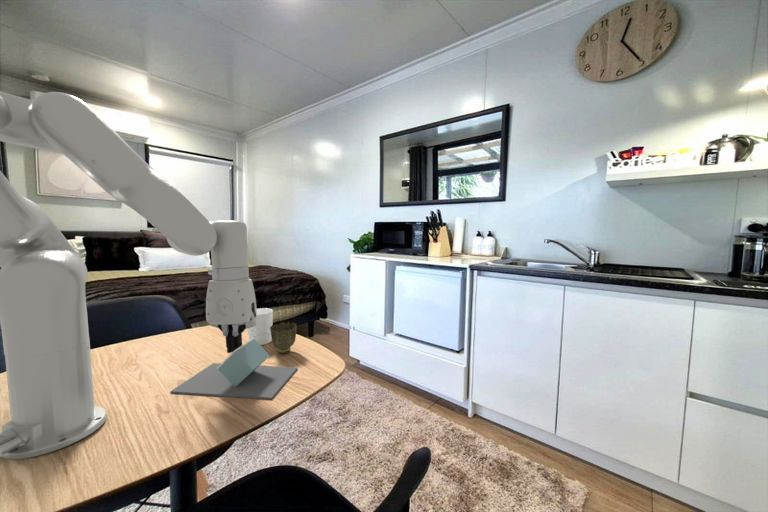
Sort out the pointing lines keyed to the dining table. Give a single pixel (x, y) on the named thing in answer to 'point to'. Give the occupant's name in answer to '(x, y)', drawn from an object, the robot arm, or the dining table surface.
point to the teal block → (243, 362)
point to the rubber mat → (254, 386)
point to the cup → (283, 336)
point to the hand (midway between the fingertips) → (234, 350)
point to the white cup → (262, 326)
